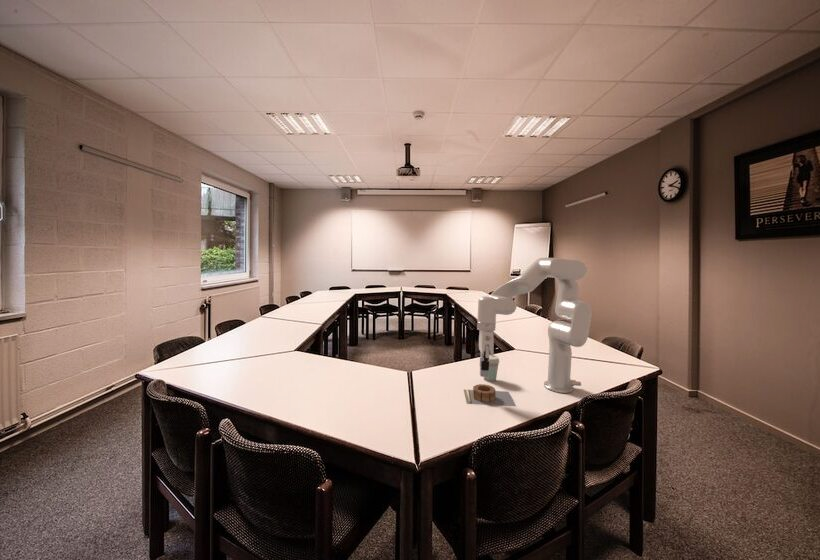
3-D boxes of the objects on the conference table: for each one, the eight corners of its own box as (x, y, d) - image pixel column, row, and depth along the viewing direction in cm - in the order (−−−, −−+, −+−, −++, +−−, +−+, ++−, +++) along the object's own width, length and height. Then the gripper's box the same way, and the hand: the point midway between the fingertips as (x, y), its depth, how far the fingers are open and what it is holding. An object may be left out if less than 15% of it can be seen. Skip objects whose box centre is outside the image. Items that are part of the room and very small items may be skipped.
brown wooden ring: (492, 393, 142) (493, 384, 141) (496, 402, 133) (496, 393, 133) (472, 392, 142) (472, 383, 142) (474, 401, 134) (474, 392, 133)
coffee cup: (499, 384, 153) (500, 360, 152) (481, 383, 155) (481, 358, 154) (498, 378, 161) (498, 354, 161) (480, 376, 163) (481, 353, 162)
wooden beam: (486, 374, 138) (488, 349, 137) (487, 376, 135) (489, 351, 134) (479, 373, 138) (480, 348, 138) (480, 376, 135) (481, 350, 135)
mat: (508, 392, 144) (508, 389, 144) (516, 407, 130) (516, 404, 130) (463, 390, 146) (463, 387, 146) (466, 405, 132) (466, 401, 132)
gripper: (499, 331, 127) (496, 376, 128) (491, 322, 143) (489, 362, 144) (480, 330, 127) (477, 375, 129) (474, 321, 144) (472, 361, 145)
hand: (484, 368), depth 137 cm, fingers closed on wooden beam, 3 cm apart
